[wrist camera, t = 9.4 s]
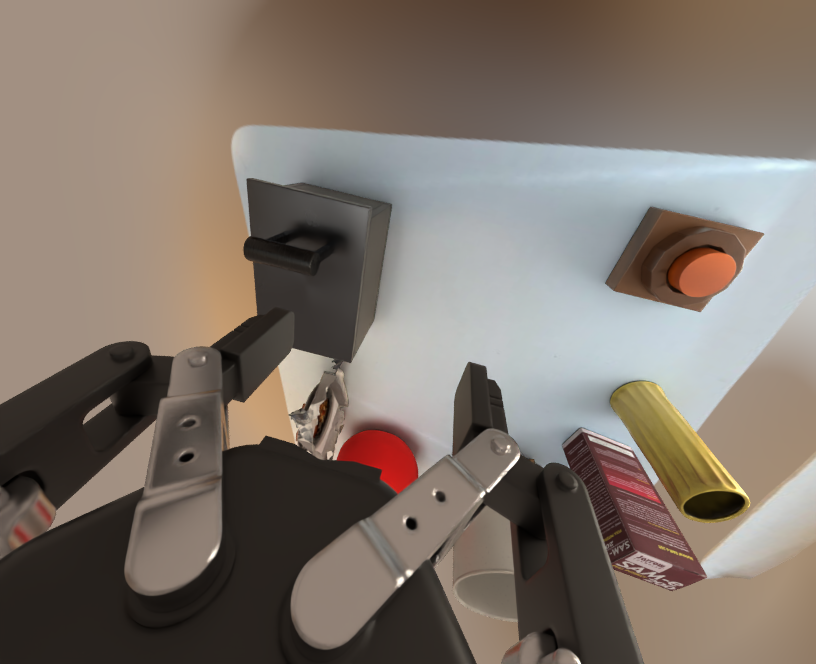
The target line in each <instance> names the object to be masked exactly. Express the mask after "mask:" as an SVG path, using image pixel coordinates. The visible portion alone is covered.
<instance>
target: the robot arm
mask: <svg viewBox="0 0 816 664" xmlns="http://www.w3.org/2000/svg"><path fill="white" fill-rule="evenodd" d="M293 343H294V313H293V312H292V311H289V310H285V309H282V308H278V307H275V308H273V309H272V310H270V311H269V312H268V313H267V314H265V315H262V314H260V315H257V316H254V317H252V318H249V319H248V320H246V321H245V322H244V323H242V324H241V326H238V327H237V328H235V329H234V331H231V332H230V333H228V334H227V335H226V336H224V337H223V338H221V339H220V340H219V341H217V342H216V343H214V344H213V345H212V346H210V347H194V348H189V349H186V350H183V351H182V352H180V353H178V354H177V355H176V356H175V357H170V356H152V355H151V353H150V350H149V347H148V346H147V345H146V344H144V343H141V342H135V341H126V342H119V343H114V344H111V345H108V346H105V347H103V348H101V349H99V350H98V351H96V352H94V353H92V354H90V355H89V356H87V357H85V358H84V359H82V360H80V361H78V362H76V363H74V364H73V365H71V366H69V367H67V368H65V369H63V370H62V371H60V372H58V373H56V374H54V375H53V376H51V377H49V378H47V379H45V380H44V381H42V382H40V383H38V384H37V385H35V386H33V387H31V388H29V389H27V390H26V391H24V392H22V393H20V394H19V395H17V396H15V397H13V398H12V399H9V400H8V401H6V402H4V403H2V404H1V405H0V664H476V661H475V659H474V657H473V654H472V652H471V650H470V648H469V646H468V643H467V641H466V639H465V637H464V634H463V632H462V630H461V628H460V625H459V623H458V621H457V619H456V616H455V614H454V612H453V610H452V608H451V605H450V603H449V601H448V599H447V596H446V594H445V592H444V590H443V587H442V585H441V583H440V581H439V578H438V576H437V574H436V572H435V568H436V566H437V565H438V564H439V563H440V562H441V561H442V559H443V558H444V557H445V556H446V554H447V553H448V552H449V551H450V549H451V548H452V547H453V545H454V544H455V543H456V541H457V540H458V539H459V538H460V536H461V535H462V534H463V533H464V532H465V531H466V529H467V528H468V527H469V526H470V525H471V524H472V522H473V521H474V520H475V519H476V518H477V517H478V515H479V514H480V513H481V512H482V511H483V510H484V508H485V507H486V506H488V507H489V508H491V509H493V510H494V511H496V512H497V513H499V514H500V515H502V516H503V517H505V518H506V519H508V520H510V528H511V541H512V554H513V567H514V579H515V592H516V605H517V618H518V631H519V642H517V643H516V644H515V645H513V646H512V647H510V648H509V649H508V650H507V651H506V653H505V655H504V657H503V659H502V663H501V664H644V662H643V659H642V656H641V653H640V650H639V647H638V643H637V640H636V638H635V634H634V631H633V629H632V625H631V622H630V619H629V616H628V613H627V610H626V607H625V604H624V601H623V598H622V595H621V591H620V589H619V586H618V582H617V579H616V576H615V573H614V570H613V567H612V564H611V561H610V558H609V555H608V552H607V549H606V546H605V543H604V539H603V536H602V533H601V530H600V527H599V524H598V521H597V518H596V515H595V512H594V509H593V506H592V503H591V500H590V497H589V494H588V491H587V488H586V486H585V484H584V482H583V481H582V479H581V478H580V477H579V476H578V475H577V474H576V473H575V472H574V471H572V470H571V469H570V468H568V467H566V466H564V465H562V464H559V463H549V464H547V465H546V466H545V467H544V468H542V467H541V466H539V465H537V464H535V463H534V462H532V461H530V460H528V459H527V458H525V457H524V456H522V455H521V454H520V450H519V447H518V445H517V443H516V442H515V441H514V439H513V438H512V437H510V436H509V435H508V429H507V424H506V418H505V412H504V408H503V407H504V406H503V401H502V394H501V390H500V388H499V386H498V385H497V383H496V382H495V381H494V380H490V379H487V370H486V366H483V365H479V364H475V363H472V362H468V364H467V366H466V368H465V371H464V373H463V375H462V378H461V380H460V383H459V385H458V387H457V390H456V394H455V399H454V424H453V454H452V457H451V456H450V455H446V456H445V457H443V458H442V459H441V460H440V461H438V462H437V463H436V464H435V465H433V466H432V467H431V468H430V469H428V470H427V471H426V472H425V473H423V474H422V475H421V476H420V477H419V478H417V479H416V480H415V481H414V482H412V483H411V484H410V485H409V486H407V487H406V488H405V489H404V490H402V491H401V492H400V493H399V494H397V492H396V491H395V490H394V489H393V488H392V487H390V486H389V485H388V484H387V483H385V482H384V481H382V480H381V479H380V477H381V473H382V469H378V468H375V467H372V466H368V465H365V464H361V463H358V462H354V461H338V460H321V459H319V458H317V457H315V456H313V455H312V454H310V453H308V452H307V451H305V450H304V449H302V448H300V447H299V446H297V445H295V444H293V443H289V442H286V441H282V440H279V439H276V438H272V437H268V436H265V437H264V439H263V440H262V441H261V443H260V444H259V445H257V444H256V445H244V446H239V447H234V448H231V449H230V444H229V421H228V406H227V404H228V403H229V402H230V401H231V400H232V399H233V400H237V401H240V402H245V401H246V400H247V399H248V398H249V396H250V395H251V394H252V393H253V392H254V391H255V390H256V389H257V388H258V387H259V385H260V384H261V383H262V382H263V381H264V380H265V379H266V378H267V377H268V376H269V375H270V373H271V372H272V371H273V370H274V369H275V368H276V367H277V366H278V365H279V364H280V363H281V362H282V360H283V359H284V358H285V357H286V356H287V355H288V354H289V353H290V351H291V349H292V346H293ZM109 397H110V399H111V402H112V404H110V405H109V406H108V407H106V408H105V409H104V410H102V411H101V412H100V413H98V414H97V415H96V416H94V417H93V418H92V419H90V420H89V421H87V422H86V423H85V424H84V425H83V420H84V418H85V416H86V415H87V414H88V413H89V411H91V410H92V409H93V408H95V407H96V406H97V405H99V404H100V403H102V402H103V401H104V400H105V399H107V398H109ZM156 419H157V420H156ZM155 420H156V425H155V431H154V437H153V442H152V448H151V453H150V459H149V464H148V470H147V476H146V481H145V487H143V488H141V489H139V490H137V491H135V492H132V493H130V494H128V495H126V496H124V497H121V498H119V499H117V500H115V501H112V502H110V503H108V504H106V505H104V506H102V507H100V508H97V509H95V510H93V511H91V512H89V513H86V514H84V515H82V516H80V517H77V518H75V519H73V520H71V521H69V522H67V523H64V524H62V525H60V526H58V527H56V528H53V529H51V530H49V531H47V530H48V528H49V527H50V526H51V524H52V523H53V521H54V519H55V516H56V510H57V509H58V508H60V506H62V505H63V504H64V503H65V502H66V501H67V500H68V499H69V498H71V497H72V496H73V495H74V494H75V493H76V492H77V491H78V490H79V489H80V488H82V486H84V485H85V484H86V483H87V482H88V481H89V480H90V479H91V478H92V477H94V476H95V475H96V474H97V473H98V472H99V471H100V470H101V469H102V468H103V467H105V466H106V465H107V464H108V463H109V462H110V461H111V460H112V459H113V458H114V457H115V456H117V455H118V454H119V453H120V452H121V451H122V450H123V449H124V448H125V447H126V446H127V445H129V444H130V443H131V442H132V441H133V440H134V439H135V438H136V437H137V436H138V435H140V434H141V433H142V432H143V431H144V430H145V429H146V428H147V427H148V426H149V425H151V424H152V423H153V422H154V421H155ZM46 531H47V532H46Z"/></svg>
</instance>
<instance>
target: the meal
mask: <svg viewBox="0 0 816 664" xmlns="http://www.w3.org/2000/svg"><path fill="white" fill-rule="evenodd" d="M332 362H335V363H336V365H334V366H333V369H336V370H337V371H336V373H331V372H327V371H324V374H323V376H322V379H321V381H320V383H319V384H317V385H316V387H315V388H314V389H313V391H312V392H311V394H310V395H309V398H308V400H307V402H306V404H303V407H302V408H301V409H299V410H297V411H295V412H292V413H291V414H289V416H291V419H293V420H294V421H295V423H296V427H297V428H298V431H297V433H296V441H298V446H299V447H300V448H302V449H304V450H305V451H307V450H308V451H309V452H310V453H312V455H313V456H315V457H317V458H319V459H321V460H327V452H328V451H332V452H333V456H334V450H335V444H336V442H337V437H338V433H339V435H340V433H341V430H342V428H343V426H344V425H342V426H341V424H342V422H343V420H344V419H345V418H344V411H341V410H340V408H342V407H348V397H347V392H346V387H345V384H344V382H343V377H344V374H343V371H342V370H341V369H340V367H339V366H340V365H341V363H342V362H343V361H341V360H337V359H334V360H333V361H332ZM331 368H332V367H331ZM333 456H332V457H331V458H330V460H332V459H333Z"/></svg>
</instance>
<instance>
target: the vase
mask: <svg viewBox="0 0 816 664" xmlns="http://www.w3.org/2000/svg"><path fill="white" fill-rule="evenodd" d="M610 404H611V407H612V409H613V411H614V412H615V413H616V414H617V415H618V416H619V418H620V419H621V420H622V422H623V423H624V425H625V426H626V428H627V429H628V431H629V433H630V434H631V436H632V438H633V439H634V441H635V442H636V444H637V445H638V447H639V448H640V450H641V451H642V453H643V454H644V456H645V457H646V459H647V460H648V462H649V463H650V465H651V466H652V468H653V469H654V471H655V473H656V475H657V476H658V478H659V479H660V481H661V483H662V484H663V485H664V487H665V489H666V490H667V492H668V493H669V495H670V496H671V498H672V500H673V501H674V503H675V504H676V506H677V508H678V509H679V511H680V512H681V513H682V514H683V515H684V516H685V517H686V518H688V519H691V520H694V521H698V522H703V523H714V522H722V521H726V520H731V519H733V518H735V517H737V516H739V515H741V514H743V513H744V512H745V511H746V510H747V509H748V508H749V505H750V500H749V498H748V496H747V495H746V494H745V492H744V491H743V490H742V488H741V487H740V486H739V485H738V483H737V482H736V481H735V480H734V479H733V478H732V476H731V475H730V474H729V473H728V472H727V470H726V469H725V468H724V467H723V466H722V465H721V463H720V462H719V461H718V460H717V459H716V457H715V456H714V455H713V453H712V452H711V451H710V450H709V448H708V447H707V446H706V445H705V444H704V442H703V441H702V440H701V439H700V437H699V436H698V435H697V433H696V432H695V431H694V430H693V429H692V427H691V426H690V425H689V424H688V422H687V421H686V420H685V419H684V417H683V416H682V415H681V414H680V413H679V411H678V410H677V409H676V408H675V407H674V406H673V405H672V404H671V403H670V401H669V400H668V399H667V398H666V396H665V393H664V391H663V390H662V388H661V387H660V386H658V385H657V384H655V383H652V382H646V381H637V382H632V383H628V384H626V385H623V386H622V387H620V388H619V389H617V390H616V391H615V392H614V393H613V395H612V397H611V400H610Z"/></svg>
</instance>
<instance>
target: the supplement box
mask: <svg viewBox="0 0 816 664" xmlns="http://www.w3.org/2000/svg"><path fill="white" fill-rule="evenodd" d="M562 447H563V450H564V452H565V455H566V458H567V461H568V464H569V466H570V469H571V470H572V471H574V472H575V473H576V474H577V475H578V476H579V477H580V478H581V479H582V481H583V482H584V484H585V486H586V488H587V491H588V494H589V497H590V500H591V503H592V506H593V509H594V512H595V515H596V518H597V521H598V524H599V527H600V530H601V533H602V536H603V539H604V543H605V546H606V549H607V552H608V555H609V558H610V561H611V564H612V567H613V569H614V570H616V571H619V572H622V573H624V574H627V575H630V576H633V577H635V578H638V579H641V580H644V581H647V582H649V583H652V584H654V585H657V586H660V587H662V588H665V589H668V590H670V591H673V590H677V589H680V588H683V587H685V586H688V585H691V584H693V583H695V582H698V581H700V580H702V579H705V578H707V575H706V574H705V572H704V570H703V568H702V567H701V565H700V563H699V562H698V560H697V558H696V556H695V555H694V553H693V551H692V550H691V548H690V546H689V545H688V543H687V541H686V540H685V538H684V536H683V535H682V533H681V531H680V529H679V528H678V526H677V524H676V523H675V521H674V519H673V518H672V516H671V514H670V513H669V511H668V509H667V508H666V506H665V504H664V503H663V501H662V499H661V497H660V496H659V494H658V492H657V491H656V489H655V487H654V486H653V484H652V482H651V480H650V479H649V477H648V475H647V474H646V472H645V470H644V468H643V467H642V465H641V464H640V462H639V460H638V458H637V457H636V455H635V453H634V451H633V450H632V448H631V447H629V446H626V445H624V444H621V443H619V442H616V441H614V440H611V439H609V438H606V437H604V436H601V435H599V434H596V433H594V432H591V431H589V430H586V429H583V428H580V429H579V430H578V431H577V432H575V433H574V434H573V435H572V436H571V437H570V438H569V439H568V440H567V441H566V442H565V443H564V444H563V445H562Z"/></svg>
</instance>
